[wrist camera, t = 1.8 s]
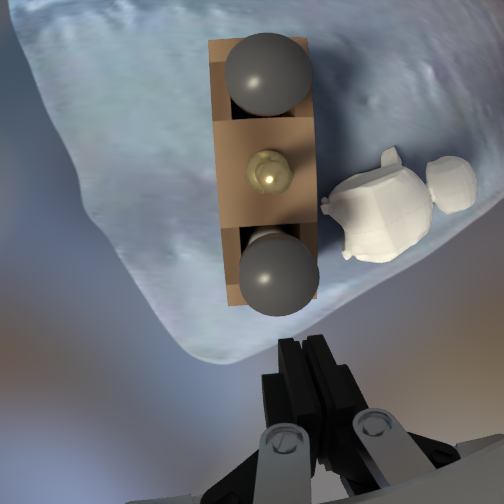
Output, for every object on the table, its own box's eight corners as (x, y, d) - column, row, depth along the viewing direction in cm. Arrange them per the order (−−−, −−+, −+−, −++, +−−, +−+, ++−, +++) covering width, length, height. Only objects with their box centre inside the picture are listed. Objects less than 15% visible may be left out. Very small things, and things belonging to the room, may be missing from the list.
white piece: (350, 244, 35) (468, 199, 29) (349, 285, 28) (497, 230, 22) (318, 177, 33) (444, 125, 26) (309, 203, 26) (473, 137, 19)
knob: (285, 69, 23) (309, 33, 14) (289, 124, 24) (315, 111, 16) (226, 71, 23) (222, 34, 14) (229, 127, 24) (226, 114, 16)
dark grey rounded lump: (293, 209, 27) (319, 238, 18) (294, 263, 28) (318, 312, 20) (235, 213, 27) (235, 244, 18) (240, 267, 28) (242, 319, 20)
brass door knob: (287, 149, 21) (301, 149, 17) (289, 191, 22) (303, 203, 17) (243, 151, 21) (246, 151, 16) (246, 194, 22) (249, 206, 17)
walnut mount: (289, 64, 26) (307, 37, 19) (298, 264, 33) (316, 298, 25) (215, 67, 26) (208, 40, 19) (229, 269, 32) (228, 306, 25)
